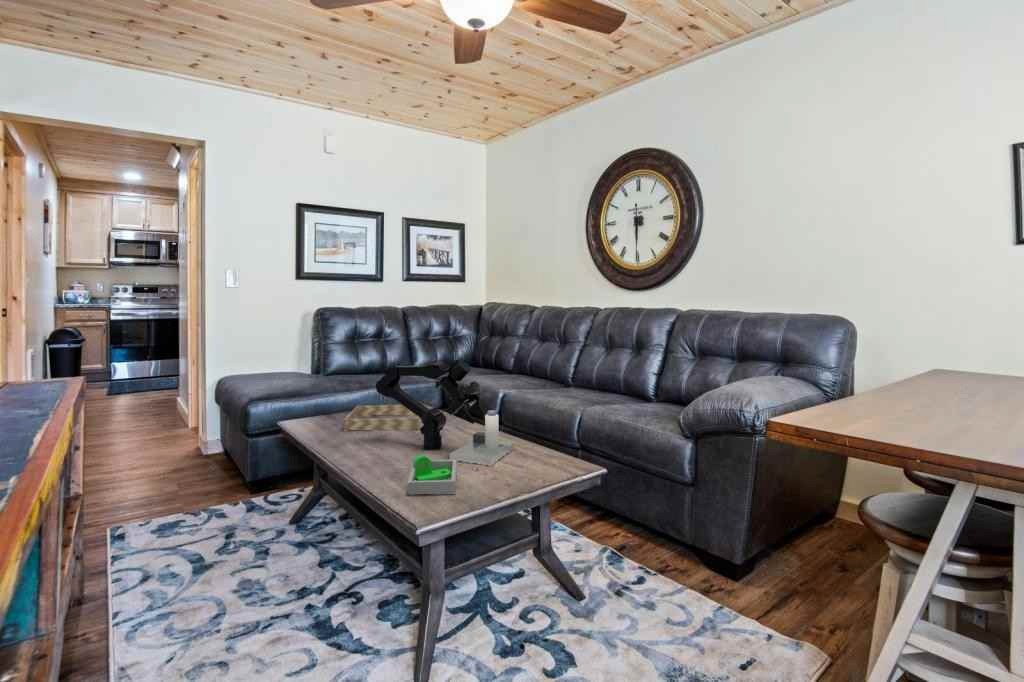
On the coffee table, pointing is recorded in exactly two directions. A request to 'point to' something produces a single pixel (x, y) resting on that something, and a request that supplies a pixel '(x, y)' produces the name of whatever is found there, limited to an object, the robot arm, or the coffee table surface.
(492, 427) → the cream bottle
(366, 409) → the woven basket tray
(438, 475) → the mechanical part
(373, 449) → the coffee table surface
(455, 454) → the plate
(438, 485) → the parts tray
